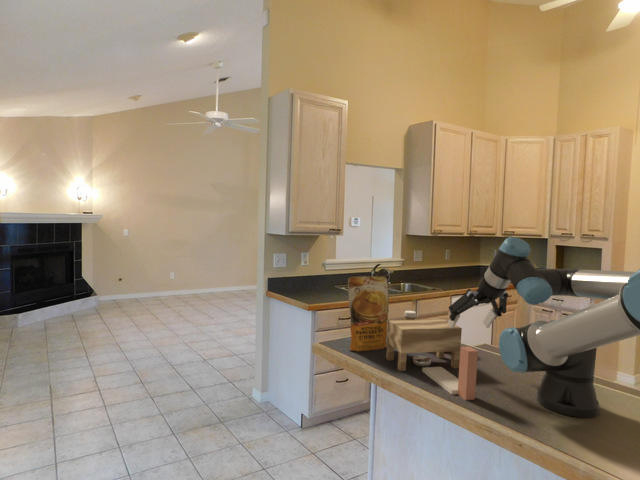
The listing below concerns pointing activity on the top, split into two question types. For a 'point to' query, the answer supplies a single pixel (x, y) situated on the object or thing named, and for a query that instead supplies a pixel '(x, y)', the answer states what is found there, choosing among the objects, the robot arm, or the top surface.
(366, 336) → the pancake mix bag
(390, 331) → the small wooden stool
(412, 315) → the sprinkles bottle
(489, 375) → the top surface
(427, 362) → the steel puck
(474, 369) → the plank with pink post
